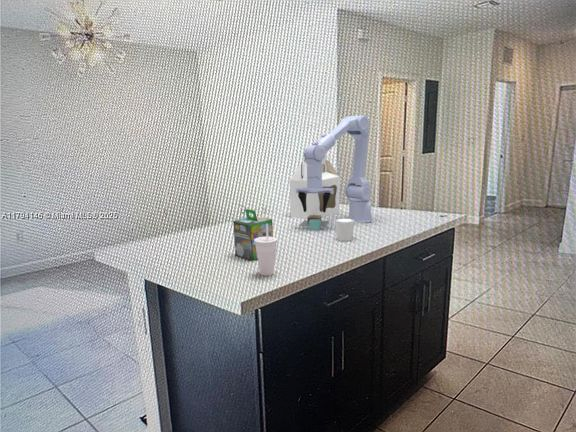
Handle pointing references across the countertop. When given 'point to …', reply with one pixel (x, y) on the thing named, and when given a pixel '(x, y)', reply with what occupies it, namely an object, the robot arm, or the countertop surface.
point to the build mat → (305, 223)
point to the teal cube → (315, 224)
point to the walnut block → (313, 217)
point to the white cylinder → (344, 229)
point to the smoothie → (266, 253)
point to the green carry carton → (250, 234)
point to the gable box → (314, 199)
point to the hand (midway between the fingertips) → (314, 211)
